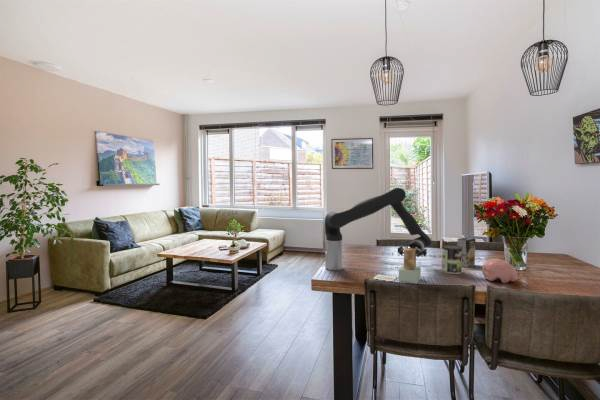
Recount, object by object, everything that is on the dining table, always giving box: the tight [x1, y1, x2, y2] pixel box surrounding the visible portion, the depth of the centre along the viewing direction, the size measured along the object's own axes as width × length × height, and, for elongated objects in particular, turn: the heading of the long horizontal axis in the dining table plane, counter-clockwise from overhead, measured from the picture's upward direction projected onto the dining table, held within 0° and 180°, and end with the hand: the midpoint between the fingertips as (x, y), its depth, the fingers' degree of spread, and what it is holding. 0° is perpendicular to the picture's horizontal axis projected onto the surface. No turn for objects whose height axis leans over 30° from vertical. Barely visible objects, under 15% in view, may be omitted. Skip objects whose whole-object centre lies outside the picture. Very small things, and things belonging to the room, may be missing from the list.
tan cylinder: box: [403, 248, 417, 270], centre depth 167 cm, size 5×5×10 cm
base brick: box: [398, 264, 422, 284], centre depth 168 cm, size 9×9×6 cm
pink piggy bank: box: [481, 258, 518, 284], centre depth 164 cm, size 16×13×12 cm
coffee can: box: [441, 244, 462, 275], centre depth 181 cm, size 10×10×14 cm
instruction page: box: [372, 274, 397, 282], centre depth 171 cm, size 10×8×1 cm
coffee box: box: [456, 236, 476, 268], centre depth 193 cm, size 9×6×16 cm
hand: (409, 253), depth 165 cm, fingers open, 8 cm apart
